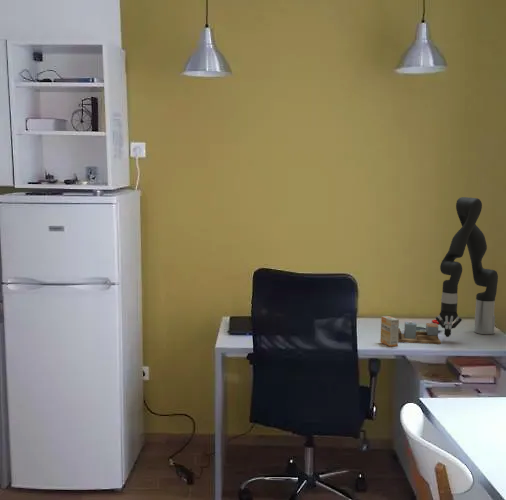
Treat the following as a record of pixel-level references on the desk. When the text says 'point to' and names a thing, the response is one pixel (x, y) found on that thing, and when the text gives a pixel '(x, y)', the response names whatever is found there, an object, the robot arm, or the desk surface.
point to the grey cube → (431, 329)
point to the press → (419, 338)
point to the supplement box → (389, 331)
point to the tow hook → (437, 322)
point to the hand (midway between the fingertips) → (447, 336)
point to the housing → (410, 330)
